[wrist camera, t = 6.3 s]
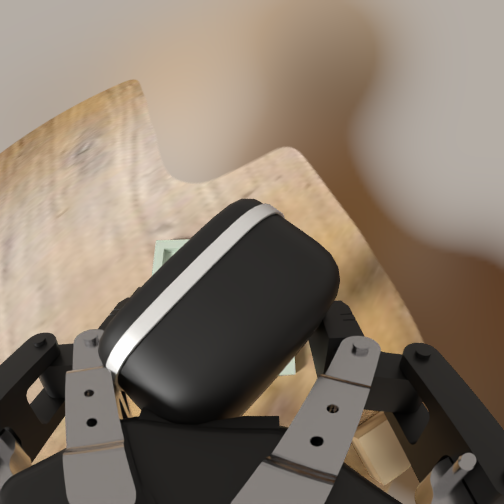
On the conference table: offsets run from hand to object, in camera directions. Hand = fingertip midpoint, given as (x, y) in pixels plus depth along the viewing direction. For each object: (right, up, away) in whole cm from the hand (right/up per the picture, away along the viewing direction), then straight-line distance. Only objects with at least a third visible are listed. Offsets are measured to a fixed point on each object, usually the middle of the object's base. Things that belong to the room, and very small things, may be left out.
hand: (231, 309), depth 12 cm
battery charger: (0, -4, +4) cm, 6 cm away
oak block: (+14, -16, +11) cm, 24 cm away
